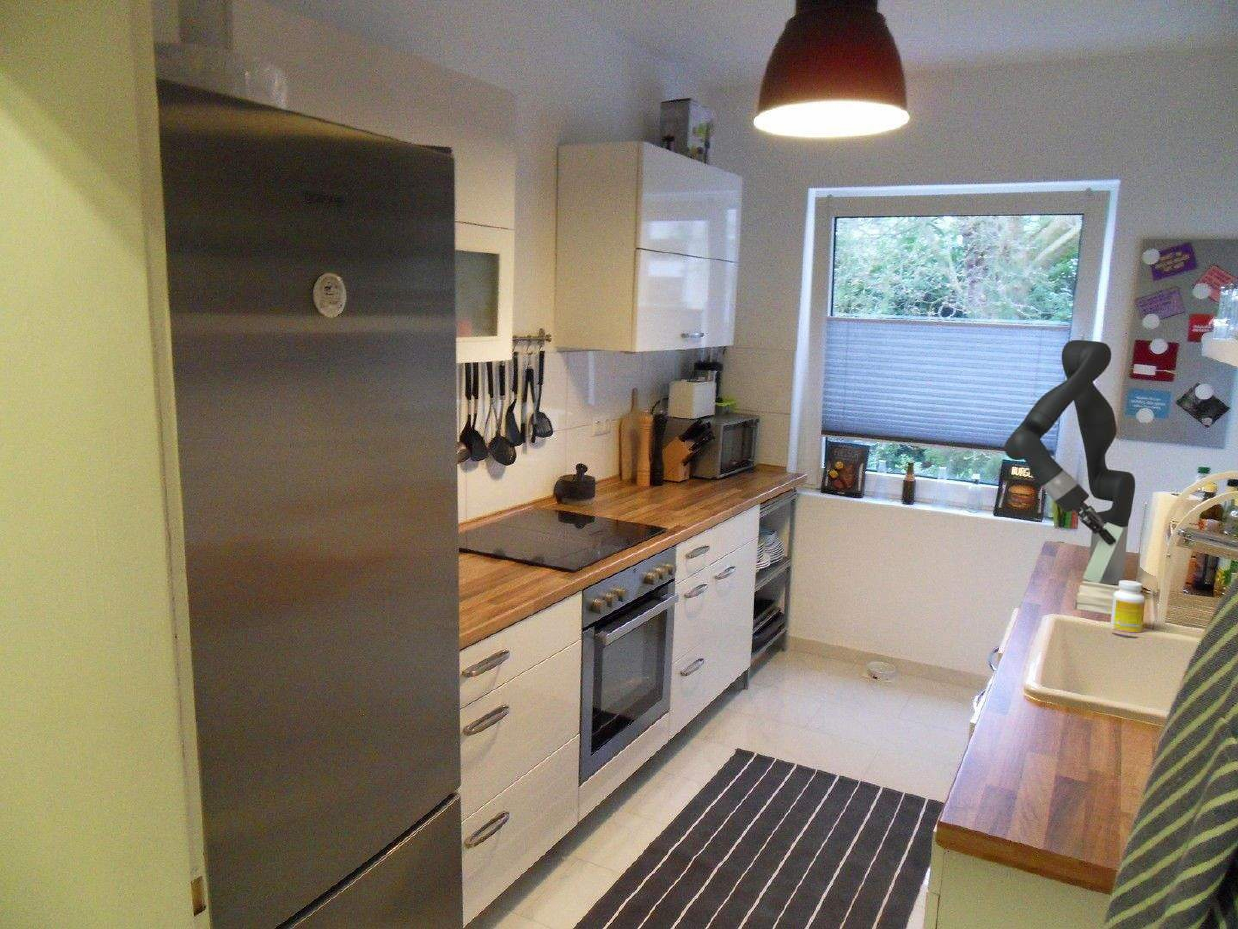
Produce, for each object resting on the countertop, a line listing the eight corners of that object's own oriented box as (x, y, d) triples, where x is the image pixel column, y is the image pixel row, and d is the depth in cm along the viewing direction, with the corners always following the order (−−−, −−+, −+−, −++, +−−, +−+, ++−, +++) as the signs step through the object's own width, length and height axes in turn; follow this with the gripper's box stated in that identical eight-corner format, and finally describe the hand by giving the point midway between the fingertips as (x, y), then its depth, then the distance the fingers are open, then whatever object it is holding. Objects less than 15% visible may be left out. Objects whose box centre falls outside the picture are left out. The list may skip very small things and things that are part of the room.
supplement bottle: (1145, 640, 204) (1151, 587, 203) (1115, 638, 206) (1120, 585, 204) (1135, 631, 211) (1140, 580, 209) (1105, 629, 212) (1110, 578, 211)
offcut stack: (1077, 602, 230) (1079, 580, 229) (1118, 608, 225) (1120, 586, 224) (1074, 609, 223) (1076, 586, 223) (1117, 615, 218) (1119, 592, 218)
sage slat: (1083, 576, 233) (1106, 522, 228) (1099, 582, 231) (1123, 528, 226) (1082, 578, 231) (1106, 523, 227) (1098, 584, 229) (1123, 529, 225)
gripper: (1074, 485, 224) (1125, 538, 220) (1079, 479, 236) (1126, 529, 231) (1050, 503, 228) (1099, 555, 223) (1055, 496, 239) (1102, 545, 235)
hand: (1113, 542), depth 227 cm, fingers closed on sage slat, 1 cm apart
